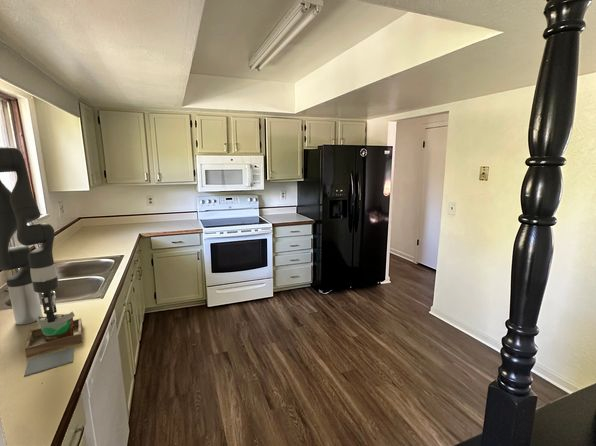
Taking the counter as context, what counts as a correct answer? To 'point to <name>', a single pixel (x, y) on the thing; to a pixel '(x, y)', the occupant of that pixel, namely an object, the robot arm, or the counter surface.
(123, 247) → the counter surface
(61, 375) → the counter surface
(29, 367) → the rubber mat
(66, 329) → the food container
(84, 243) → the counter surface
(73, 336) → the frame
